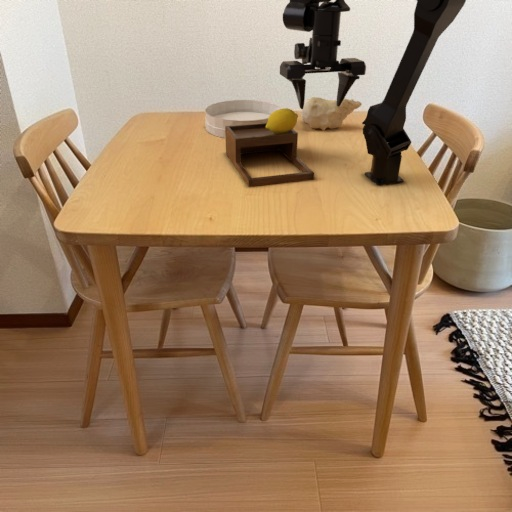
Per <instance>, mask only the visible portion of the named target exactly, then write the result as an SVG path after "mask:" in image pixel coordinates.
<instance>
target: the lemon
mask: <svg viewBox="0 0 512 512" xmlns="http://www.w3.org/2000/svg"><path fill="white" fill-rule="evenodd" d="M298 118H299V114H298V113H296V112H295V111H294V110H293V109H291V108H287V107H286V108H281V109H279V110H277V111H275V112H273V113H272V114H271V115H270V116H269V118H268V122H267V125H266V129H268V130H270V131H271V132H273V133H274V134H283V133H287V132H289V131H290V130H292V129H293V130H294V129H295V127H296V125H297V123H298Z"/></svg>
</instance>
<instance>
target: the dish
mask: <svg viewBox="0 0 512 512" xmlns="http://www.w3.org/2000/svg"><path fill="white" fill-rule="evenodd" d="M279 109H282V107H281V106H279V105H277V104H275V103H272V102H268V101H263V100H255V99H254V100H253V99H234V100H232V99H231V100H225V101H218V102H216V103H213V104H210V105H208V106H207V107H206V108H205V109H204V112H205V113H204V114H205V118H204V124H205V131H206V132H207V133H208V134H210V135H212V136H215V137H219V138H222V139H226V135H225V126H232V125H244V124H256V123H267V122H268V118H269V116H270V115H271V114H272V113H273V112H275V111H277V110H279Z"/></svg>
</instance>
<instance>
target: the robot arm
mask: <svg viewBox="0 0 512 512" xmlns="http://www.w3.org/2000/svg"><path fill="white" fill-rule="evenodd" d="M466 2H467V0H416V3H415V4H416V5H415V9H414V12H413V31H412V33H411V36H410V38H409V40H408V43H407V44H406V48H405V50H404V52H403V55H402V57H401V59H400V62H399V64H398V66H397V68H396V70H395V73H394V75H393V78H392V79H391V82H390V85H389V87H388V89H387V91H386V94H385V96H384V99H383V100H382V101H381V102H379V103H376V104H373V105H370V106H369V108H368V110H367V113H366V116H365V119H364V120H363V121H362V122H361V125H363V128H362V135H363V137H364V139H365V145H366V152H367V154H368V155H370V156H372V158H371V159H372V160H371V166H370V171H366V172H364V176H365V177H367V178H368V179H369V180H370V181H371V182H373V183H374V184H375V185H377V186H383V185H384V186H385V185H392V184H393V185H394V184H400V183H404V181H405V180H404V178H403V177H401V176H399V175H400V170H401V163H402V158H403V155H402V152H404V151H408V150H409V148H410V146H411V144H412V140H411V138H410V137H409V135H408V134H407V132H406V130H405V129H404V127H405V124H406V121H407V106H408V104H409V101H410V99H411V97H412V94H413V93H414V91H415V88H416V87H417V84H418V82H419V80H420V78H421V75H422V73H423V72H424V69H425V67H426V65H427V63H428V61H429V58H430V57H431V55H432V53H433V51H434V48H435V46H436V44H437V43H438V39H439V38H440V36H441V35H442V34H443V33H444V32H445V31H446V30H447V29H448V28H449V27H450V25H451V24H452V23H453V22H454V21H455V19H456V18H457V16H458V15H459V13H460V12H461V10H462V8H463V7H464V6H465V4H466ZM320 3H321V4H320ZM350 11H351V7H350V6H349V4H347V3H346V1H345V0H334V1H332V0H289V2H288V3H287V4H286V6H285V7H284V10H283V12H282V22H283V25H284V27H285V29H287V30H291V31H299V32H306V33H312V34H311V37H309V41H308V45H306V44H305V43H304V42H296V43H295V44H294V50H293V53H294V59H295V60H285V61H282V62H280V63H281V64H280V65H279V75H280V76H282V77H283V78H284V79H286V80H287V81H289V82H290V83H291V84H292V86H293V88H294V92H295V95H296V98H297V103H298V106H299V109H301V110H302V109H303V107H304V103H305V100H306V84H307V80H306V79H305V78H304V76H306V74H307V75H308V74H323V73H325V74H326V73H337V78H338V86H337V93H336V101H337V106H340V105H341V103H342V101H343V100H344V98H345V99H346V96H347V94H348V92H349V91H350V89H351V88H352V86H353V85H354V84H355V82H356V81H357V80H360V79H361V76H365V75H366V71H367V64H366V63H365V61H364V60H362V59H359V58H356V57H348V58H347V57H345V58H341V59H340V61H339V60H338V49H339V47H341V45H342V40H340V39H339V38H340V29H341V28H340V26H341V16H342V15H341V14H342V13H344V12H346V13H347V12H350ZM299 60H301V62H300V61H299Z"/></svg>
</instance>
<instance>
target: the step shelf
mask: <svg viewBox="0 0 512 512" xmlns="http://www.w3.org/2000/svg"><path fill="white" fill-rule="evenodd" d="M266 125H267V123H256V124H244V125H232V126H225V135H226V138H225V154H226V156H227V158H228V159H229V160H230V162H231V163H232V165H233V166H234V167H235V170H236V171H237V172H238V174H239V175H240V176H241V178H242V179H243V180H244V182H245V184H246V185H247V186H248V187H257V186H258V187H259V186H266V185H275V184H283V183H290V182H292V183H293V182H302V181H310V180H315V171H313V170H312V169H311V168H310V167H309V166H308V165H307V164H305V162H304V161H302V159H301V158H300V157H299V156H298V140H299V132H298V131H296V130H295V129H294V128H293V129H292V130H290V131H289V132H287V133H283V134H274V133H273V132H271V131H270V130H268V129H266ZM274 151H275V152H276V151H280V152H281V153H282V154H283V155H284V156H285V157H286V158H287V159H288V161H290V162H291V163H293V164H294V165H295V166H296V168H298V169H299V171H301V172H295V173H285V174H276V175H275V174H274V175H268V176H267V175H266V176H258V177H252V176H251V174H250V173H249V172H248V170H247V169H246V168H245V167H244V165H243V164H242V160H241V158H242V155H244V154H255V153H265V152H274Z"/></svg>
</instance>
